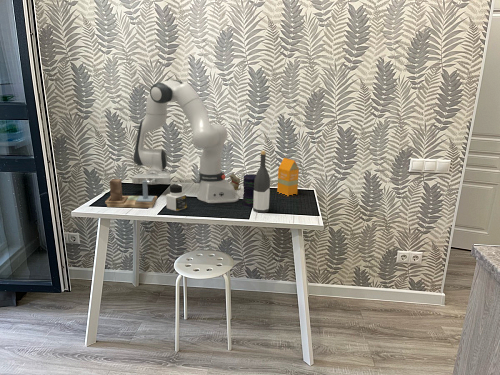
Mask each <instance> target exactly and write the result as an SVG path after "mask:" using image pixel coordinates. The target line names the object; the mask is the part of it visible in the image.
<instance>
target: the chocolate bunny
mask: <svg viewBox="0 0 500 375" xmlns="http://www.w3.org/2000/svg"><path fill="white" fill-rule="evenodd" d="M229 178H230V181H231V182H229V183H231V184H232V185H233V186H234V189H235V191H238V190H239V186H240V184H241V178H240V177H238V176H237V175H236V174H235V173H234V172H232V173H231V174H230V175H229Z"/></svg>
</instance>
